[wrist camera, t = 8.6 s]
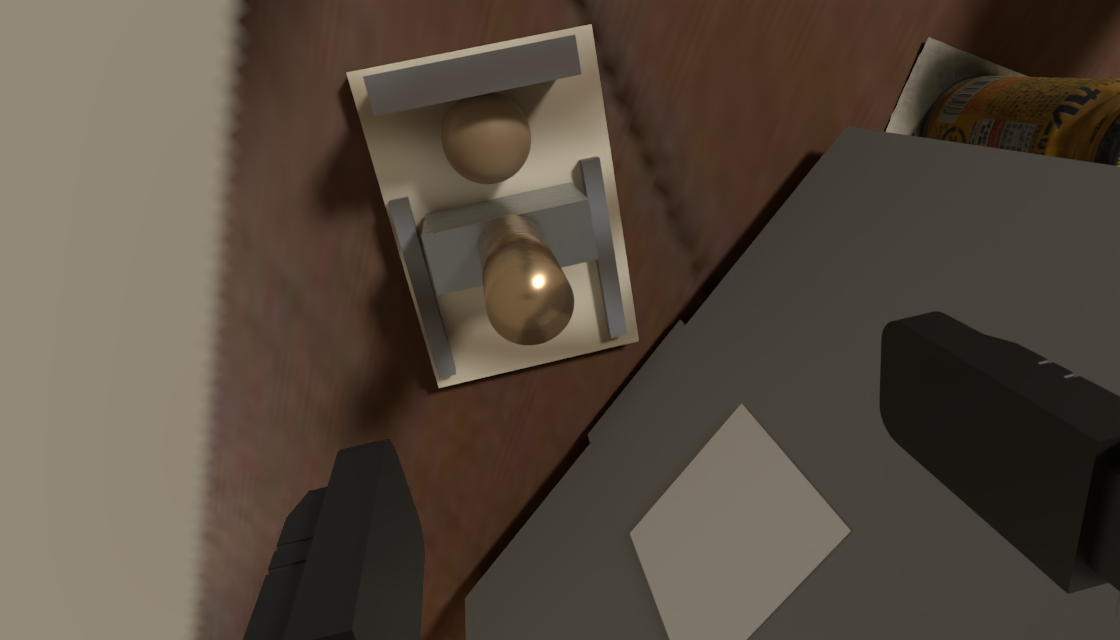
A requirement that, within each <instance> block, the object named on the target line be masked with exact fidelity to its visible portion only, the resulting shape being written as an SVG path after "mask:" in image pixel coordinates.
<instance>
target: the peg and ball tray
mask: <svg viewBox="0 0 1120 640" xmlns="http://www.w3.org/2000/svg"><path fill="white" fill-rule="evenodd" d="M346 74H347V77H348V81H349V84H350V87H351V91H352V94H353V98H354V101H355V104H356V108H357V111H358V115H359V118H360V122H361V125H362V128H363V132H364V135H365V139H366V142H367V145H368V149H369V152H370V156H371V159H372V162H373V166H374V169H375V173H376V176H377V180H378V183H379V186H380V190H381V193H382V197H383V200H384V203H385V207H386V210H387V214H388V217H389V220H390V224H391V227H392V231H393V234H394V237H395V241H396V244H397V248H398V251H399V255H400V258H401V261H402V265H403V268H404V272H405V275H406V278H407V282H408V285H409V289H410V292H411V295H412V299H413V302H414V306H415V309H416V313H417V316H418V319H419V323H420V326H421V330H422V333H423V336H424V340H425V343H426V347H427V350H428V353H429V357H430V360H431V364H432V367H433V371H434V374H435V377H436V381H437V384H438V388H442V387H446V386H450V385H454V384H459V383H463V382H467V381H471V380H476V379H480V378H484V377H488V376H493V375H497V374H501V373H505V372H510V371H514V370H518V369H522V368H527V367H531V366H535V365H539V364H544V363H548V362H552V361H556V360H561V359H565V358H569V357H573V356H578V355H582V354H586V353H590V352H595V351H599V350H603V349H607V348H612V347H616V346H620V345H624V344H629V343H633V342H637V341H639V338H638V331H637V325H636V318H635V311H634V305H633V298H632V291H631V284H630V278H629V271H628V264H627V258H626V251H625V244H624V238H623V231H622V224H621V217H620V211H619V204H618V197H617V191H616V184H615V177H614V171H613V164H612V157H611V150H610V144H609V137H608V130H607V124H606V117H605V110H604V104H603V97H602V90H601V83H600V77H599V70H598V63H597V57H596V50H595V43H594V37H593V30H592V24H590V25H585V26H580V27H575V28H570V29H565V30H560V31H555V32H550V33H545V34H540V35H535V36H529V37H524V38H519V39H514V40H509V41H504V42H499V43H494V44H489V45H484V46H479V47H474V48H469V49H464V50H459V51H454V52H448V53H443V54H438V55H433V56H428V57H423V58H418V59H413V60H408V61H403V62H398V63H393V64H388V65H383V66H378V67H373V68H367V69H362V70H357V71H352V72H347V73H346ZM569 182H571V183H572V184H573V185H574V186H575V187H576V188H577V189H578V190H579V191H580V192H582V193H583V194H584V195H585V196H586V197H587V198H588V199H589V205H590V211H591V217H592V223H593V229H594V235H595V241H596V247H597V253H598V260H593V261H589V262H584V263H580V264H575V265H571V266H566V267H562V268H561V269H562V270H563V272H564V274H565V276H566V278H567V280H568V282H569V283H570V286H571V288H572V291H573V294H574V310H573V314H572V317H571V319H570V321H569V323H568V325H567V326H566V327H565V329H564V330H563V331H562V332H561V333H560V334H559V335H557V336H556V337H555V338H553V339H551V340H550V341H547V342H545V343H542V344H538V345H519V344H515V343H512V342H510V341H508V340H506V339H505V338H503V337H502V336H500V335H499V334H498V333H497V332H496V331H495V329H494V328H493V327H492V325H491V323H490V321H489V318H488V315H487V310H486V303H485V295H484V288H483V285H482V286H478V287H473V288H469V289H464V290H460V291H455V292H451V293H446V294H442V295H437V291H436V288H435V284H434V281H433V277H432V273H431V270H430V266H429V262H428V259H427V255H426V252H425V248H424V244H423V241H422V237H421V234H422V229H423V224H424V219H425V214H426V213H430V212H434V211H439V210H444V209H448V208H453V207H458V206H462V205H467V204H472V203H476V202H481V201H486V200H490V199H495V198H500V197H504V196H509V195H513V194H518V193H523V192H527V191H532V190H537V189H541V188H546V187H551V186H555V185H560V184H565V183H569Z"/></svg>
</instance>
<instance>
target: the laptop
mask: <svg viewBox="0 0 1120 640" xmlns="http://www.w3.org/2000/svg"><path fill="white" fill-rule="evenodd" d="M933 311H938V312H942V313H945V314H947V315H948V316H950V317H952V318H954V319H956V320H958V321H960V322H962V323H963V324H965V325H967V326H969V327H971V328H973V329H975V330H977V331H979V332H980V333H982V334H985V335H989V336H993V337H996V338H1000V339H1004V340H1007V341H1011V342H1014V343H1017V344H1019V345H1021V346H1023V347H1025V348H1027V349H1029V350H1031V351H1033V352H1035V353H1037V354H1039V355H1041V356H1042V357H1044V358H1046V359H1047V361H1048V363H1052V362H1054V363H1056V364H1058V365H1060V366H1062V367H1064V368H1066V369H1068V370H1070V371H1072V372H1073V374H1074V376H1075V377H1078V376H1081V377H1083V378H1085V379H1087V380H1089V381H1091V382H1093V383H1095V384H1097V385H1099V386H1101V387H1103V388H1105V389H1106V390H1108V391H1110V392H1112V393H1114V394H1116V395H1118V396H1120V166H1113V165H1107V164H1100V163H1093V162H1086V161H1079V160H1073V159H1066V158H1059V157H1052V156H1045V155H1039V154H1032V153H1025V152H1018V151H1011V150H1005V149H998V148H991V147H984V146H978V145H971V144H964V143H957V142H950V141H944V140H937V139H930V138H923V137H916V136H910V135H903V134H896V133H889V132H882V131H876V130H869V129H862V128H855V127H849V126H846V127H845V129H844V130H843V131H842V132H841V133H840V135H839V136H838V137H837V138H836V140H835V141H834V142H833V143H832V145H831V146H830V147H829V148H828V150H827V151H826V152H825V153H824V154H823V156H822V157H821V158H820V159H819V161H818V162H817V163H816V164H815V166H814V167H813V168H812V169H811V171H810V172H809V173H808V174H807V176H806V177H805V178H804V179H803V180H802V182H801V183H800V184H799V185H798V187H797V188H796V189H795V190H794V192H793V193H792V194H791V195H790V197H789V198H788V199H787V200H786V202H785V203H784V204H783V205H782V206H781V208H780V209H779V210H778V211H777V213H776V214H775V215H774V216H773V218H772V219H771V220H770V221H769V223H768V224H767V225H766V226H765V228H764V229H763V230H762V231H761V232H760V234H759V235H758V236H757V237H756V239H755V240H754V241H753V242H752V244H751V245H750V246H749V247H748V249H747V250H746V251H745V252H744V253H743V255H742V256H741V257H740V258H739V260H738V261H737V262H736V263H735V265H734V266H733V267H732V268H731V270H730V271H729V272H728V273H727V275H726V276H725V277H724V278H723V279H722V281H721V282H720V283H719V284H718V286H717V287H716V288H715V289H714V291H713V292H712V293H711V294H710V296H709V297H708V298H707V299H706V301H705V302H704V303H703V304H702V305H701V307H700V308H699V309H698V310H697V312H696V313H695V314H694V315H693V317H692V318H691V319H690V320H689V322H688V323H687V324H686V323H684V322H683V321H681V320H679V321H678V322H677V324H676V325H675V326H674V327H673V329H672V330H671V331H670V332H669V334H668V335H667V336H666V337H665V339H664V340H663V341H662V342H661V344H660V345H659V346H658V347H657V349H656V350H655V351H654V352H653V354H652V355H651V356H650V357H649V358H648V360H647V361H646V362H645V363H644V365H643V366H642V367H641V368H640V370H639V371H638V372H637V373H636V375H635V376H634V377H633V378H632V380H631V381H630V382H629V383H628V385H627V386H626V387H625V388H624V390H623V391H622V392H621V393H620V395H619V396H618V397H617V398H616V400H615V401H614V402H613V403H612V405H611V406H610V407H609V408H608V410H607V411H606V412H605V413H604V414H603V416H602V417H601V418H600V419H599V421H598V422H597V423H596V424H595V426H594V427H593V428H592V429H591V431H590V432H589V433H588V438H589V441H590V444H589V445H588V447H587V448H586V449H585V450H584V452H583V453H582V454H581V455H580V456H579V458H578V459H577V460H576V461H575V463H574V464H573V465H572V466H571V468H570V469H569V470H568V471H567V473H566V474H565V475H564V476H563V477H562V479H561V480H560V481H559V482H558V484H557V485H556V486H555V487H554V489H553V490H552V491H551V492H550V494H549V495H548V496H547V497H546V499H545V500H544V501H543V502H542V503H541V505H540V506H539V507H538V508H537V510H536V511H535V512H534V513H533V515H532V516H531V517H530V518H529V520H528V521H527V522H526V523H525V525H524V526H523V527H522V528H521V529H520V531H519V532H518V533H517V534H516V536H515V537H514V538H513V539H512V541H511V542H510V543H509V544H508V546H507V547H506V548H505V549H504V551H503V552H502V553H501V554H500V555H499V557H498V558H497V559H496V560H495V562H494V563H493V564H492V565H491V567H490V568H489V569H488V570H487V572H486V573H485V574H484V575H483V576H482V578H481V579H480V580H479V581H478V583H477V584H476V585H475V586H474V588H473V589H472V590H471V591H470V593H469V594H468V595H467V596H466V598H465V628H466V640H1120V629H1119V625H1118V621H1117V617H1116V605H1117V601H1118V597H1119V593H1120V592H1119V591H1118V590H1117V589H1116V588H1115V587H1113V586H1112V585H1111V584H1110V583H1107V584H1103V585H1099V586H1096V587H1092V588H1088V589H1085V590H1081V591H1077V592H1074V593H1070V594H1067V593H1066V592H1065V591H1064V590H1063V589H1061V588H1060V587H1059V586H1058V585H1057V584H1056V583H1055V582H1053V581H1052V580H1051V579H1050V578H1049V577H1048V576H1047V575H1046V574H1044V573H1043V572H1042V571H1041V570H1040V569H1039V568H1038V567H1036V566H1035V565H1034V564H1033V563H1032V562H1031V561H1030V560H1029V559H1027V558H1026V557H1025V556H1024V555H1023V554H1022V553H1021V552H1019V551H1018V550H1017V549H1016V548H1015V547H1014V546H1013V545H1011V544H1010V543H1009V542H1008V541H1007V540H1006V539H1005V538H1004V537H1002V536H1001V535H1000V534H999V533H998V532H997V531H996V530H994V529H993V528H992V527H991V526H990V525H989V524H988V523H987V522H985V521H984V520H983V519H982V518H981V517H980V516H979V515H977V514H976V513H975V512H974V511H973V510H972V509H971V508H969V507H968V506H967V505H966V504H965V503H964V502H963V501H962V500H960V499H959V498H958V497H957V496H956V495H955V494H954V493H952V492H951V491H950V490H949V489H948V488H947V487H946V486H945V485H943V484H942V483H941V482H940V481H939V480H938V479H937V478H935V477H934V476H933V475H932V474H931V473H930V472H929V471H927V470H926V469H925V468H924V467H923V466H922V465H921V464H920V463H918V462H917V461H916V460H915V459H914V458H913V457H912V456H910V455H909V454H908V453H907V452H906V451H905V450H904V449H903V448H901V447H900V446H899V445H898V444H897V443H896V442H895V441H894V440H893V439H892V438H891V436H890V435H889V433H888V432H887V430H886V428H885V426H884V423H883V421H882V418H881V414H880V407H879V398H880V367H881V338H882V332H883V329H884V327H885V326H886V324H888V323H889V322H891V321H895V320H899V319H903V318H908V317H912V316H916V315H920V314H925V313H929V312H933Z"/></svg>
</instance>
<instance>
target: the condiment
mask: <svg viewBox="0 0 1120 640" xmlns="http://www.w3.org/2000/svg"><path fill="white" fill-rule="evenodd" d="M957 76H959V78H957ZM886 132H889V133H896V134H903V135H910V136H912V134H913V133H914V135H915V136H916V137H923V138H930V139H937V140H944V141H950V142H957V143H964V144H971V145H978V146H984V147H991V148H998V149H1005V150H1011V151H1018V152H1025V153H1032V154H1039V155H1045V156H1052V157H1059V158H1066V159H1073V160H1079V161H1086V162H1093V163H1100V164H1107V165H1113V166H1120V79H1112V78H1099V79H1098V78H1046V77H1029V76H1026V75H1023V74H1020V73H1018V72H1015V71H1013V70H1010V69H1007V68H1005V67H1002V66H1000V65H998V64H994V63H992V62H990V61H988V60H986V59H982V58H980V57H978V56H976V55H972V54H970V53H967V52H965V51H962V50H959V49H957V48H955V47H952V46H950V45H947V44H945V43H943V42H940V41H937V40H935V39H932V38H930V37H929V38H928V40H927V42H926V44H925V46H924V48H923V50H922V52H921V54H920V55H919V57H918V59H917V62H916V64H915V66H914V68H913V70H912V72H911V75H910V77H909V80H908V81H907V83H906V85H905V87H904V89H903V92H902V94H901V96H900V99H899V101H898V103H897V106H896V108H895V110H894V111H893V113H892V116H891V119H890V122H889V125H888V127H887V129H886Z"/></svg>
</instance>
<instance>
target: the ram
mask: <svg viewBox="0 0 1120 640" xmlns="http://www.w3.org/2000/svg"><path fill="white" fill-rule="evenodd" d="M421 237H422V241H423V244H424V248H425V252H426V255H427V259H428V262H429V266H430V270H431V273H432V277H433V281H434V284H435V288H436V291H437V295H442V294H446V293H451V292H455V291H460V290H464V289H469V288H473V287H478V286H482V285H483V288H484V295H485V303H486V310H487V315H488V318H489V321H490V323H491V325H492V327H493V328H494V329H495V331H496V332H497V333H498V334H499V335H500V336H502V337H503V338H505V339H506V340H508V341H510V342H512V343H515V344H519V345H538V344H542V343H545V342H547V341H550V340H551V339H553V338H555V337H556V336H557V335H559V334H560V333H561V332H562V331H563V330H564V329H565V327H566V326H567V325H568V323H569V321H570V319H571V317H572V314H573V310H574V294H573V291H572V288H571V286H570V283H569V282H568V280H567V278H566V276H565V274H564V272H563V270H562V269H561V268H562V267H566V266H571V265H575V264H580V263H584V262H589V261H593V260H598V253H597V247H596V241H595V235H594V229H593V223H592V217H591V211H590V205H589V199H588V198H587V197H586V196H585V195H584V194H583V193H582V192H580V191H579V190H578V189H577V188H576V187H575V186H574V185H573V184H572V183H571V182H569V183H565V184H560V185H555V186H551V187H546V188H541V189H537V190H532V191H527V192H523V193H518V194H513V195H509V196H504V197H500V198H495V199H490V200H486V201H481V202H476V203H472V204H467V205H462V206H458V207H453V208H448V209H444V210H439V211H434V212H430V213H426V214H425V219H424V224H423V229H422V234H421Z"/></svg>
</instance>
